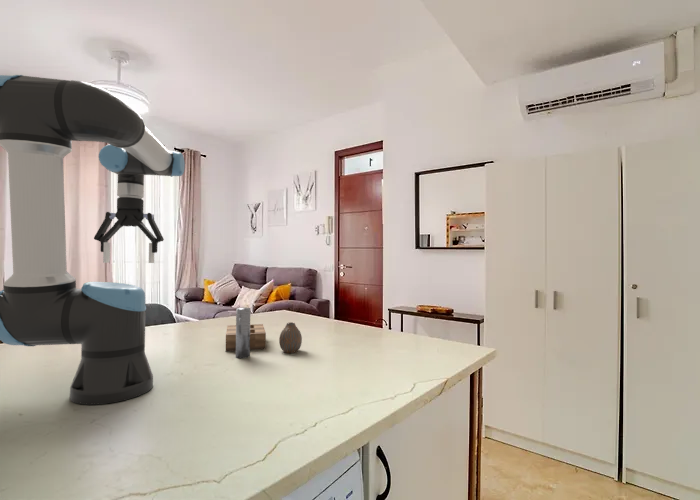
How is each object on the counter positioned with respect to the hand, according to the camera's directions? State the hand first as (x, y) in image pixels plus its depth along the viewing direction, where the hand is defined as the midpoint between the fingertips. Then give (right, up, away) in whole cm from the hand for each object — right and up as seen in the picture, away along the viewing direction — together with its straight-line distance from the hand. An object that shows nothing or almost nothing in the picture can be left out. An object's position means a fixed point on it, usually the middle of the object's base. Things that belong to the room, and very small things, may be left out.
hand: (129, 262), depth 123 cm
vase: (+54, -27, -7) cm, 61 cm away
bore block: (+38, -27, +2) cm, 46 cm away
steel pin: (+41, -27, -13) cm, 51 cm away
